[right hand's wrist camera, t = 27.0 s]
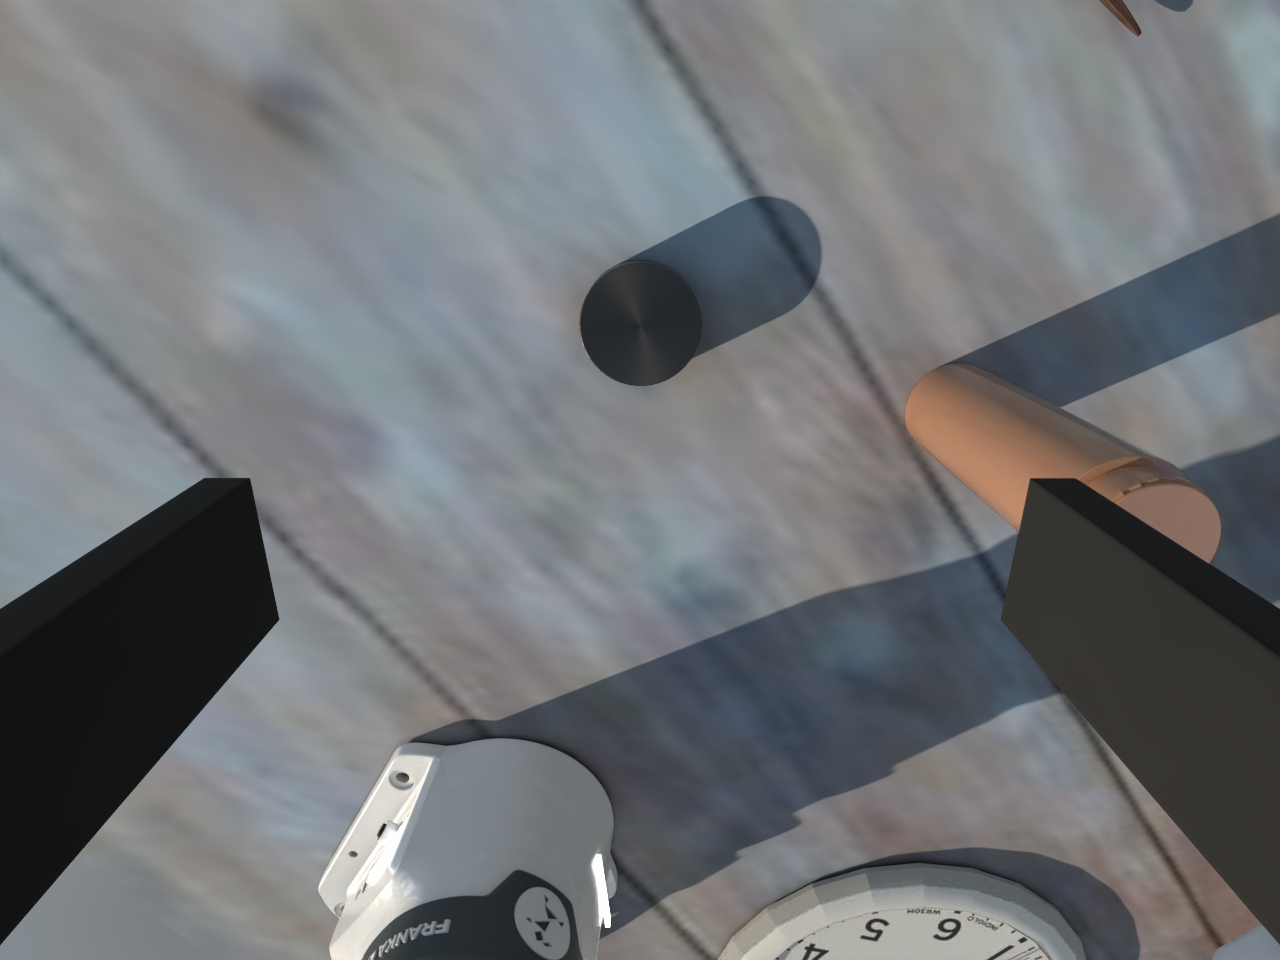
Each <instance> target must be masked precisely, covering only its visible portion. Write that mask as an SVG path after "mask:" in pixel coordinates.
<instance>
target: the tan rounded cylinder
mask: <svg viewBox="0 0 1280 960" xmlns="http://www.w3.org/2000/svg"><path fill="white" fill-rule="evenodd" d="M905 421H906V426H907V429H908V431H909V433H910V435H911V437H912V438H913V439H914V441H915V442H917V443H918V444H919V445H920V446H921V447H922V448H923V449H924V450H925V451H927V452H928V453H929V454H930V455H931V456H932V457H933V458H935V459H936V460H937V461H938V462H939V463H940V464H941V465H942V466H944V467H945V468H946V469H947V470H948V471H949V472H950V473H952V474H953V475H954V476H955V477H956V478H957V479H958V480H959V481H961V482H962V483H963V484H964V485H965V486H966V487H967V488H969V489H970V490H971V491H972V492H973V493H974V494H975V495H976V496H978V497H979V498H980V499H981V500H982V501H983V502H984V503H986V504H987V505H988V506H989V507H990V508H991V509H992V510H994V511H995V512H996V513H997V514H998V515H999V516H1000V517H1001V518H1003V519H1004V520H1005V521H1006V522H1007V523H1008V524H1009V525H1011V526H1012V527H1013V528H1014V529H1015V530H1016V531H1017V532H1018V533H1019V529H1020V524H1021V519H1022V515H1023V510H1024V505H1025V500H1026V495H1027V491H1028V486H1029V481H1030V478H1076V479H1078V480H1079V481H1081V482H1082V483H1084V484H1085V485H1087V486H1089V487H1090V488H1092V489H1093V490H1095V491H1096V492H1098V493H1100V494H1101V495H1103V496H1104V497H1106V498H1107V499H1109V500H1110V501H1112V502H1114V503H1115V504H1117V505H1118V506H1120V507H1121V508H1123V509H1124V510H1126V511H1128V512H1129V513H1131V514H1132V515H1134V516H1135V517H1137V518H1139V519H1140V520H1142V521H1143V522H1145V523H1146V524H1148V525H1149V526H1151V527H1153V528H1154V529H1156V530H1157V531H1159V532H1160V533H1162V534H1163V535H1165V536H1167V537H1168V538H1170V539H1171V540H1173V541H1174V542H1176V543H1178V544H1179V545H1181V546H1182V547H1184V548H1185V549H1187V550H1188V551H1190V552H1192V553H1193V554H1195V555H1196V556H1198V557H1199V558H1201V559H1203V560H1204V561H1206V562H1207V563H1209V564H1210V562H1211V561H1212V559H1213V557H1214V555H1215V554H1216V551H1217V549H1218V546H1219V543H1220V539H1221V532H1222V526H1221V519H1220V515H1219V512H1218V510H1217V508H1216V506H1215V504H1214V503H1213V501H1212V500H1211V499H1210V497H1209V496H1208V495H1207V494H1206V493H1205V490H1204V489H1202V488H1200V487H1199V486H1197V485H1196V484H1194V483H1193V482H1191V481H1189V480H1188V479H1187V477H1186V476H1185V475H1184V474H1183V472H1182V471H1181V470H1180V469H1178V468H1177V467H1176V466H1174V465H1173V464H1171V463H1169V462H1168V461H1166V460H1164V459H1162V458H1160V457H1158V456H1156V455H1154V454H1152V453H1150V452H1148V451H1146V450H1144V449H1142V448H1140V447H1138V446H1136V445H1134V444H1132V443H1130V442H1128V441H1126V440H1123V439H1121V438H1119V437H1117V436H1115V435H1113V434H1111V433H1109V432H1107V431H1105V430H1103V429H1101V428H1099V427H1097V426H1095V425H1093V424H1091V423H1089V422H1087V421H1085V420H1083V419H1081V418H1079V417H1077V416H1075V415H1073V414H1071V413H1069V412H1067V411H1065V410H1063V409H1061V408H1059V407H1057V406H1055V405H1053V404H1051V403H1049V402H1047V401H1045V400H1043V399H1041V398H1039V397H1037V396H1035V395H1033V394H1031V393H1029V392H1027V391H1025V390H1023V389H1021V388H1019V387H1017V386H1015V385H1013V384H1011V383H1009V382H1007V381H1005V380H1003V379H1001V378H999V377H997V376H995V375H993V374H991V373H989V372H987V371H985V370H983V369H981V368H979V367H977V366H974V365H970V364H965V363H954V364H948V365H945V366H941V367H939V368H937V369H935V370H933V371H931V372H930V373H928V374H927V375H926V376H924V377H923V378H922V379H921V380H920V381H919V382H918V383H917V385H916V386H915V387H914V389H913V390H912V392H911V394H910V396H909V398H908V401H907V404H906V409H905Z"/></svg>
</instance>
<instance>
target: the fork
mask: <svg viewBox="0 0 1280 960" xmlns="http://www.w3.org/2000/svg"><path fill="white" fill-rule="evenodd" d="M1099 1H1100V2H1101V3H1102V4H1103V5H1104V6H1105V7H1106V8H1107V9H1108V10H1109V11H1110V12H1111V13H1112V14H1113V15H1114V16H1116V17H1117V18H1118V19H1119V20H1120V21H1121V22H1122V23H1123V24H1124V25H1125V26H1126V27H1127V28H1128V29H1129V30H1130V31H1131V32H1133V33H1134V34H1135V35H1136V36H1139V35H1140V34H1141V30H1140V28H1139V26H1138V24H1137V23H1136V21H1135V19H1134V18H1133V16H1132V14H1131V13H1130V11H1129V10H1128V8H1127V7H1126V5H1125V4H1124V2H1123V1H1122V0H1099Z"/></svg>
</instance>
